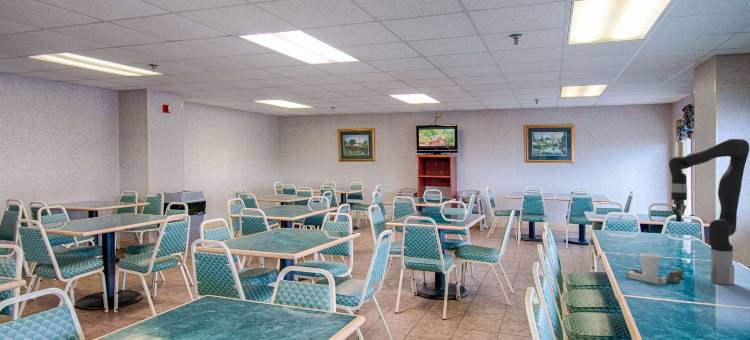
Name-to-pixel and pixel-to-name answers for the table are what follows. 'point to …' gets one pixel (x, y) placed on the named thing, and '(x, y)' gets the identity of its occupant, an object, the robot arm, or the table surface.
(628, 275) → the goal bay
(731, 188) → the robot arm
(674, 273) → the channel
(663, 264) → the table surface
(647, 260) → the foam cup
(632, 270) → the pit
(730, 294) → the table surface
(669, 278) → the pit
